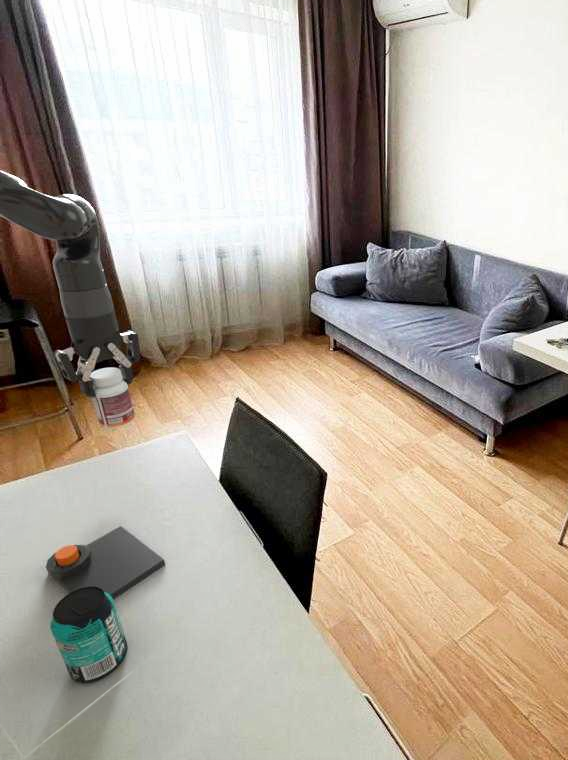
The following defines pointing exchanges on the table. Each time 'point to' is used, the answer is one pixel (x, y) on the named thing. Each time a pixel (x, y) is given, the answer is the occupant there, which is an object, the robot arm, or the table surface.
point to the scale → (108, 564)
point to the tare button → (67, 555)
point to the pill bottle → (112, 398)
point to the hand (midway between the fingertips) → (109, 389)
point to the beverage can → (88, 634)
